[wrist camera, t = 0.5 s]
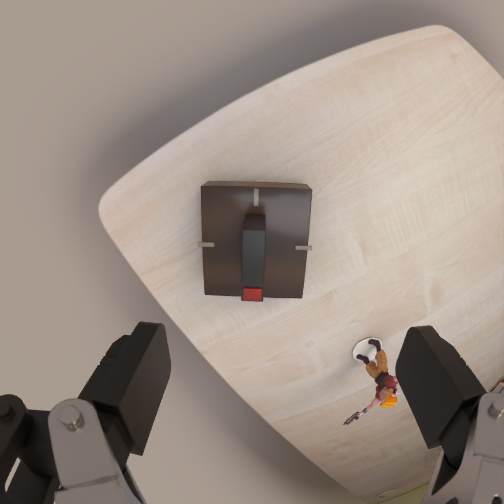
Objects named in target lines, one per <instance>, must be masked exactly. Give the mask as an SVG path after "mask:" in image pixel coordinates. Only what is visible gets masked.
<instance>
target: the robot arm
mask: <svg viewBox="0 0 504 504" xmlns="http://www.w3.org/2000/svg"><path fill="white" fill-rule="evenodd" d="M395 372H396V378H397V380H398V382H399V384H400V387H401V389H402V391H403V393H404V395H405V397H406V399H407V401H408V404H409V406H410V408H411V410H412V412H413V415H414V417H415V419H416V421H417V424H418V426H419V428H420V431H421V433H422V435H423V438H424V440H425V442H426V445H427V447H428V449H431V448H434V447H438V446H442V448H443V450H442V451H441V453H440V454H439V457H438V460H437V463H436V466H435V469H434V472H433V474H432V477H431V480H430V483H429V485H428V488H427V490H426V493H425V495H424V498H423V500H422V502H421V503H420V504H504V395H503V394H500V393H497V392H488V393H487V392H486V390H485V389H484V388H483V386H482V385H481V383H480V382H479V380H478V379H477V378H476V376H475V375H474V373H473V372H472V371H471V369H470V368H469V367H468V365H467V366H466V362H465V361H464V360H463V358H460V354H459V353H458V352H457V351H456V349H455V348H454V347H453V346H452V345H451V344H450V343H448V342H447V341H445V340H444V339H443V338H441V337H440V336H439V334H438V333H437V332H436V331H435V329H434V328H433V327H432V326H430V325H429V326H417V327H411V328H409V330H408V331H407V334H406V337H405V340H404V343H403V345H402V348H401V351H400V354H399V356H398V359H397V362H396V367H395ZM170 373H171V360H170V354H169V348H168V343H167V337H166V331H165V327H164V325H163V324H161V323H151V322H142V321H141V322H139V323H138V325H137V326H136V327H135V329H134V331H133V332H132V334H131V335H123V336H122V337H121V338H119V339H118V340H116V341H115V342H114V343H112V345H111V346H110V348H109V350H108V351H107V353H106V356H104V357H103V359H102V360H101V362H100V365H98V366H97V368H96V369H95V371H94V373H93V374H92V376H91V377H90V379H89V381H88V382H87V384H86V385H85V387H84V388H83V390H82V392H81V393H80V395H79V396H78V398H77V399H76V398H75V399H67V400H64V401H62V402H60V403H58V404H57V405H56V406H55V407H54V408H53V409H52V410H51V411H42V410H41V411H40V410H29V409H27V408H26V406H25V405H24V403H23V401H22V400H21V399H20V398H19V397H17V396H15V395H10V394H8V395H7V394H6V395H2V396H0V504H53V503H54V500H55V502H56V504H147V503H146V501H145V499H144V497H143V495H142V494H141V492H140V490H139V488H138V486H137V484H136V482H135V480H134V478H133V476H132V473H131V471H130V469H129V467H128V465H127V463H126V462H127V459H128V457H129V454H130V453H132V454H137V455H141V456H142V455H143V452H144V449H145V446H146V443H147V440H148V437H149V434H150V431H151V428H152V426H153V423H154V420H155V417H156V414H157V411H158V408H159V405H160V403H161V400H162V397H163V394H164V391H165V389H166V386H167V383H168V380H169V377H170ZM17 457H18V458H19V459H20V460H21V461H20V463H19V465H18V468H17V470H16V472H15V474H14V476H13V478H12V481H11V483H10V485H9V487H8V490H7V492H6V491H5V483H6V480H7V478H8V476H9V473H10V472H11V469H12V467H13V465H14V463H15V461H16V459H17ZM60 485H61V487H60V489H59V486H60Z"/></svg>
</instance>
